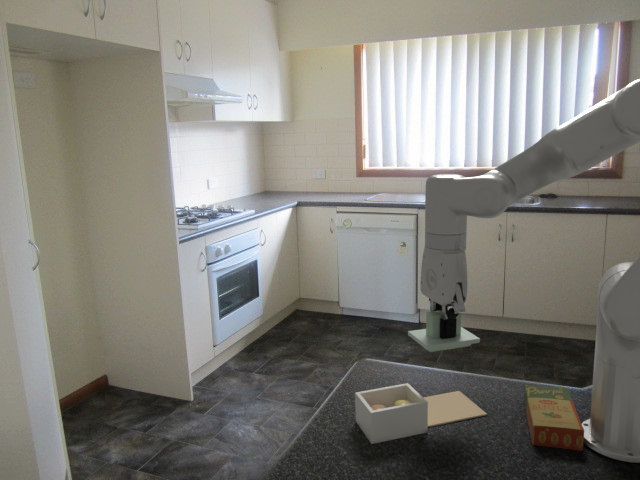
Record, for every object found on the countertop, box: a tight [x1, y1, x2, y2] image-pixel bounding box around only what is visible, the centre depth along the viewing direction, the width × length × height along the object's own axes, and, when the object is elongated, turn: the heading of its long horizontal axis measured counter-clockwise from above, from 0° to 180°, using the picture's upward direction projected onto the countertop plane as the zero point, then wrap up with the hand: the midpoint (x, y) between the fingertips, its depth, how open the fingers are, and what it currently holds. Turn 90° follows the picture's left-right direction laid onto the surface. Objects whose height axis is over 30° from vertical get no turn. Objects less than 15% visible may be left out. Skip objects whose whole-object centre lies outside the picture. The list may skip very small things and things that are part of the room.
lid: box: [407, 308, 481, 353], centre depth 102 cm, size 11×8×6 cm
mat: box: [422, 390, 488, 428], centre depth 105 cm, size 13×10×1 cm
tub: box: [354, 382, 429, 445], centre depth 98 cm, size 11×8×6 cm
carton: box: [523, 384, 584, 452], centre depth 98 cm, size 8×16×4 cm, turn 164°
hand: (443, 334), depth 102 cm, fingers closed on lid, 2 cm apart
